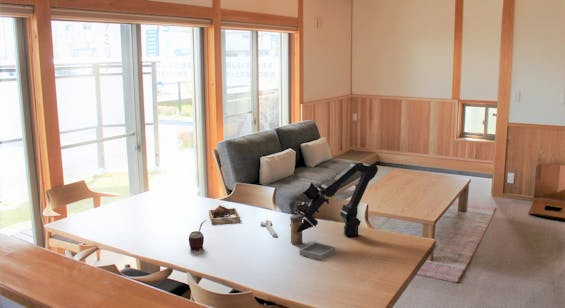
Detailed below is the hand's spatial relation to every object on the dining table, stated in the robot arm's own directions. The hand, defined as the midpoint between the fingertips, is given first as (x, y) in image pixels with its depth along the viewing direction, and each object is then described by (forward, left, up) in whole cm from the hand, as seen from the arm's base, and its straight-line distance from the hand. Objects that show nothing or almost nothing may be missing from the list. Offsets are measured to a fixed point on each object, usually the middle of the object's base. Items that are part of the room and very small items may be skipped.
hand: (294, 229), depth 259 cm
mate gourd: (+47, -4, -7) cm, 48 cm away
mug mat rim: (+29, -49, -7) cm, 57 cm away
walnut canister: (-1, 0, -7) cm, 7 cm away
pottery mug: (+30, -50, -8) cm, 59 cm away
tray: (-7, +16, -7) cm, 19 cm away
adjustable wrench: (+8, -23, -8) cm, 26 cm away
